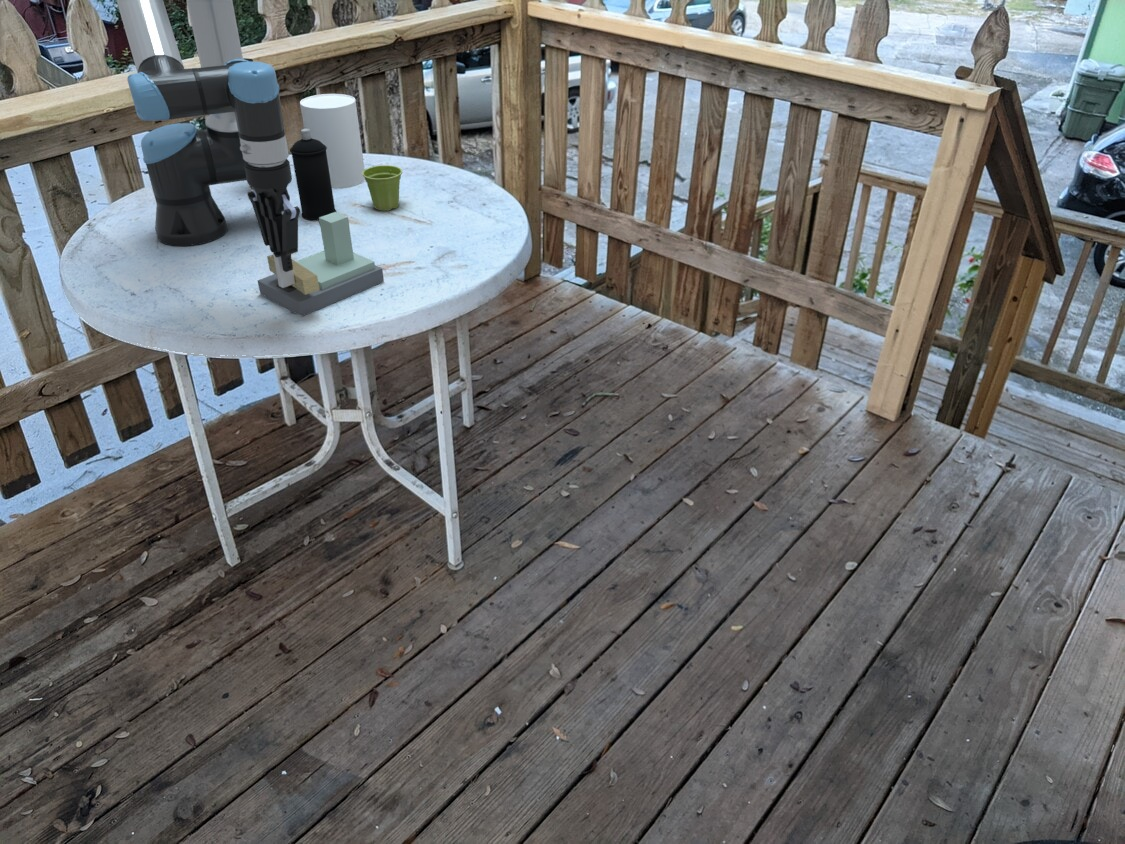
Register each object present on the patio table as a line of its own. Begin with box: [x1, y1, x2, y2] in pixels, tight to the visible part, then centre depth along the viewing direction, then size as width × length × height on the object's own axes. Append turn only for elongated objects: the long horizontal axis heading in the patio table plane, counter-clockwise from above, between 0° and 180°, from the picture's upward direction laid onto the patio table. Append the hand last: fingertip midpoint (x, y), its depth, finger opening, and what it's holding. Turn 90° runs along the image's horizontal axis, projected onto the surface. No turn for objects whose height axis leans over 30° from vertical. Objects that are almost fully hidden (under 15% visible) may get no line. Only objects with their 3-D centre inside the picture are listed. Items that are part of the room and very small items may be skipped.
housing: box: [257, 264, 385, 317], centre depth 172 cm, size 14×20×3 cm
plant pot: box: [362, 164, 403, 211], centre depth 207 cm, size 9×9×9 cm
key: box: [266, 254, 320, 295], centre depth 164 cm, size 3×14×5 cm, turn 43°
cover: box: [294, 212, 376, 290], centre depth 170 cm, size 12×13×10 cm
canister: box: [299, 93, 366, 190], centre depth 218 cm, size 14×14×20 cm
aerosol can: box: [289, 128, 338, 221], centre depth 199 cm, size 8×8×20 cm
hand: (287, 284), depth 160 cm, fingers closed
